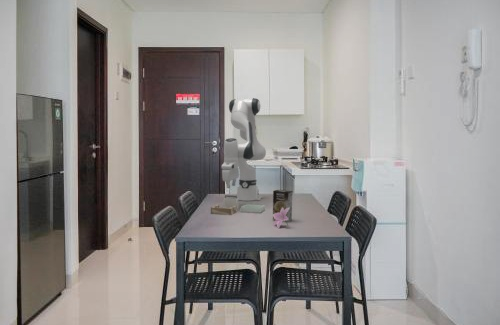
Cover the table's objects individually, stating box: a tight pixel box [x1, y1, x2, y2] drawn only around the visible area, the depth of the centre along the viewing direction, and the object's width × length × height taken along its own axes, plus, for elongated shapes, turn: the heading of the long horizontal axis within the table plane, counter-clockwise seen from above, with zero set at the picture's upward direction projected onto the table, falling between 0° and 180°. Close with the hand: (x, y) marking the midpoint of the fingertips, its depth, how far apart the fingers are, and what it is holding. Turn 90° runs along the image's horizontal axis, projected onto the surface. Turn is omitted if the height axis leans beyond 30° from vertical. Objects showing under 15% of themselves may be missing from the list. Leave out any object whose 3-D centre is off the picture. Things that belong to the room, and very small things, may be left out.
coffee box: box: [272, 189, 293, 223], centre depth 226 cm, size 9×6×16 cm
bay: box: [210, 204, 237, 216], centre depth 247 cm, size 10×12×4 cm
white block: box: [222, 194, 239, 211], centre depth 259 cm, size 5×8×9 cm, turn 73°
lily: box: [272, 207, 290, 229], centre depth 212 cm, size 12×12×10 cm
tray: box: [240, 204, 266, 214], centre depth 253 cm, size 10×12×3 cm
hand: (231, 186), depth 259 cm, fingers open, 8 cm apart
